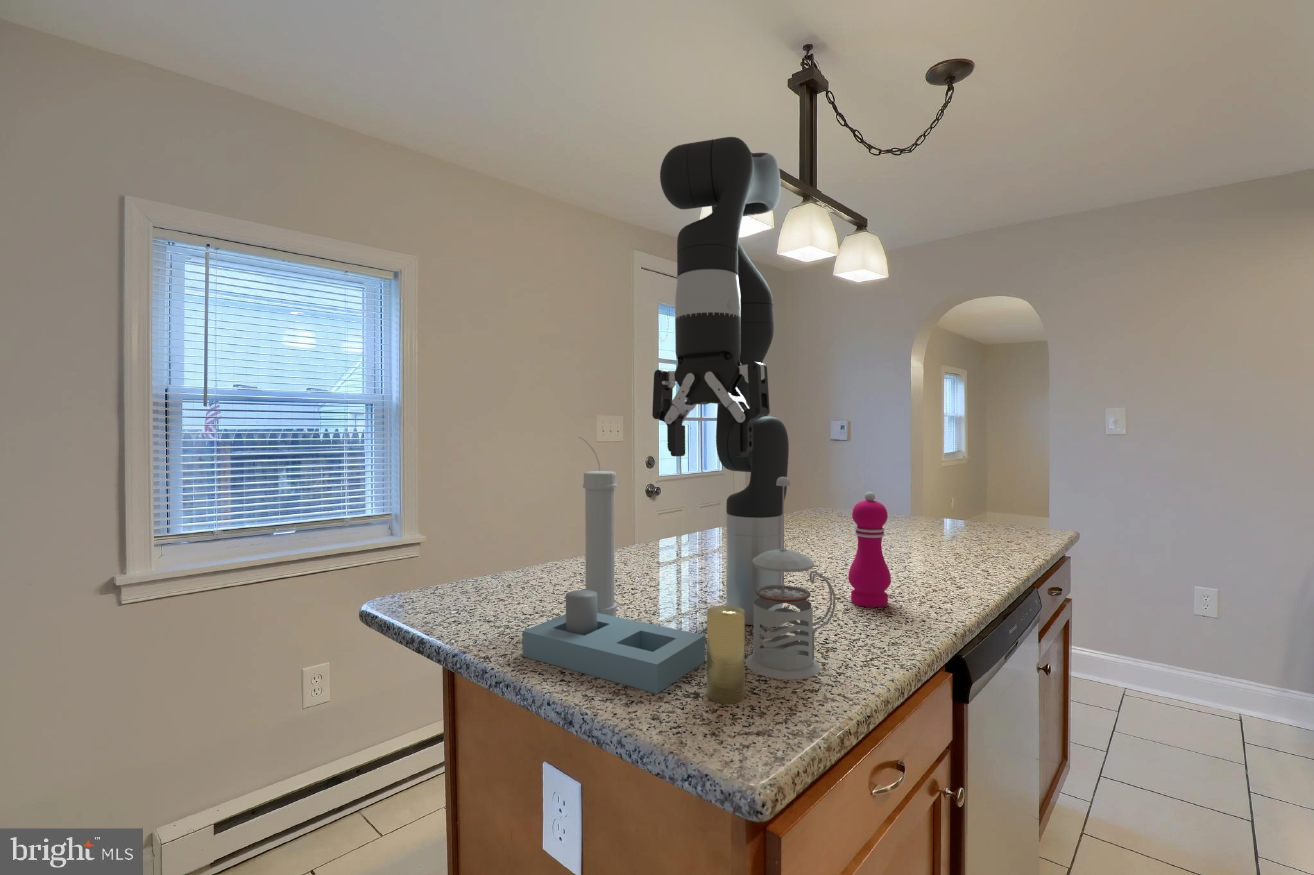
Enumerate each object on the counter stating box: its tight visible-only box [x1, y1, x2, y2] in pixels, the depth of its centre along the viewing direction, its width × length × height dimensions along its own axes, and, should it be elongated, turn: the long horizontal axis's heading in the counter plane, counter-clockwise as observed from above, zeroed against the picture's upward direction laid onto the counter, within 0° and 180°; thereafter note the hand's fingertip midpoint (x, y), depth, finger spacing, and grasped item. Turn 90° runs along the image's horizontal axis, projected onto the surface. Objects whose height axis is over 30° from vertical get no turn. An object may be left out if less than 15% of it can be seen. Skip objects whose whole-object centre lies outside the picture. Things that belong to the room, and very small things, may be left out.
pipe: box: [578, 436, 618, 617], centre depth 99 cm, size 6×6×30 cm
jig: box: [522, 589, 706, 695], centre depth 83 cm, size 12×22×8 cm, turn 57°
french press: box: [745, 476, 836, 681], centre depth 81 cm, size 10×12×25 cm
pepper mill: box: [847, 491, 892, 608], centre depth 109 cm, size 7×7×20 cm
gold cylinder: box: [706, 604, 746, 705], centre depth 71 cm, size 4×4×10 cm
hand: (708, 456), depth 70 cm, fingers open, 8 cm apart
